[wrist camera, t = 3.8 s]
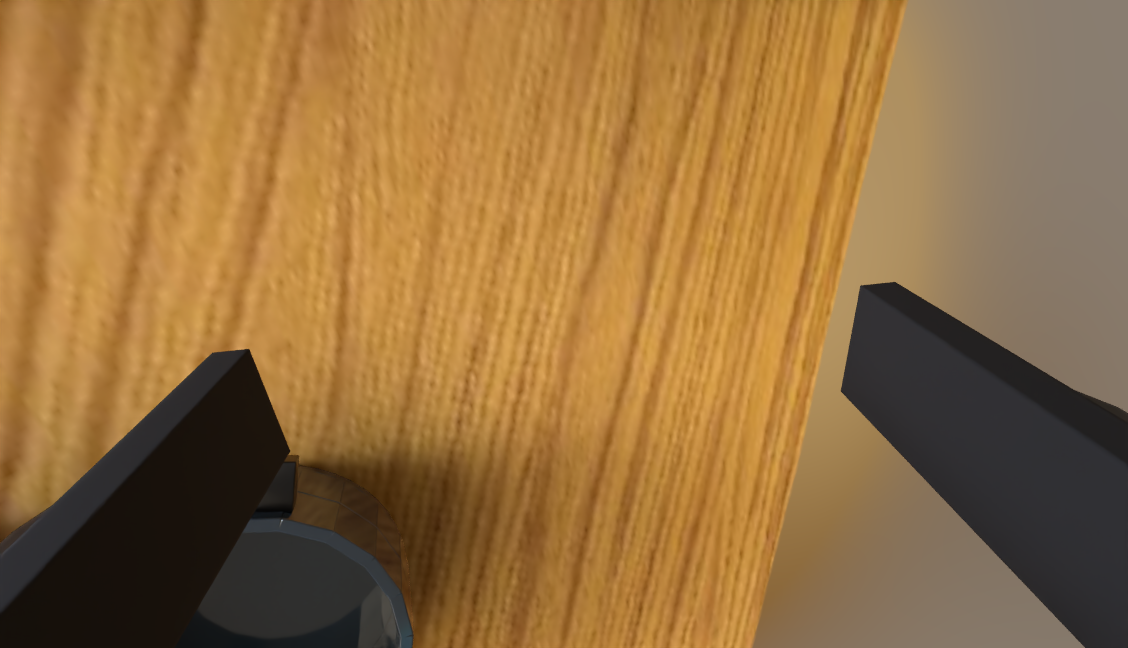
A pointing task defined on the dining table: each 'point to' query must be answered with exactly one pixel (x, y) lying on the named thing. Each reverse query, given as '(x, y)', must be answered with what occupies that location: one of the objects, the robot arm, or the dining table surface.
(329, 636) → the pot
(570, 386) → the dining table surface
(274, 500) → the pot handles
